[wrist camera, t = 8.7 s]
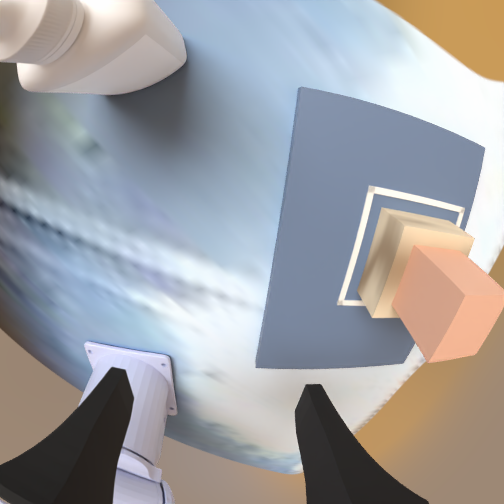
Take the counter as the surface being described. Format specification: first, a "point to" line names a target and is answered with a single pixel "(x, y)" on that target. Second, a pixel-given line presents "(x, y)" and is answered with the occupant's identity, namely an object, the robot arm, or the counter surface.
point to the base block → (402, 254)
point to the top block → (447, 303)
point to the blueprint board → (352, 225)
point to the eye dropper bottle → (89, 45)
